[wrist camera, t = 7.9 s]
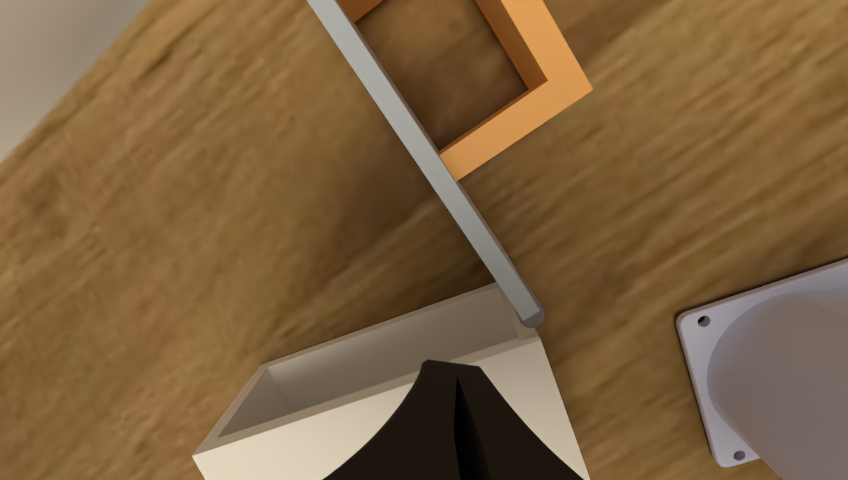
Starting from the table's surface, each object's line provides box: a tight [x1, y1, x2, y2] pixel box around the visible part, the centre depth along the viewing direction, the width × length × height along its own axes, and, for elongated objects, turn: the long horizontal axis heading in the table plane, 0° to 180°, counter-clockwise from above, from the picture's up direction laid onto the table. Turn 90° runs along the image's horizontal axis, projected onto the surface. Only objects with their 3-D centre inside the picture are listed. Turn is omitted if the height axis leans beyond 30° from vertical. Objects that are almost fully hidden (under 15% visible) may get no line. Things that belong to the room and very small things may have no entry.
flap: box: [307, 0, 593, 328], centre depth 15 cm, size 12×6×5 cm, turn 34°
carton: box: [192, 282, 590, 480], centre depth 18 cm, size 12×8×6 cm, turn 111°
